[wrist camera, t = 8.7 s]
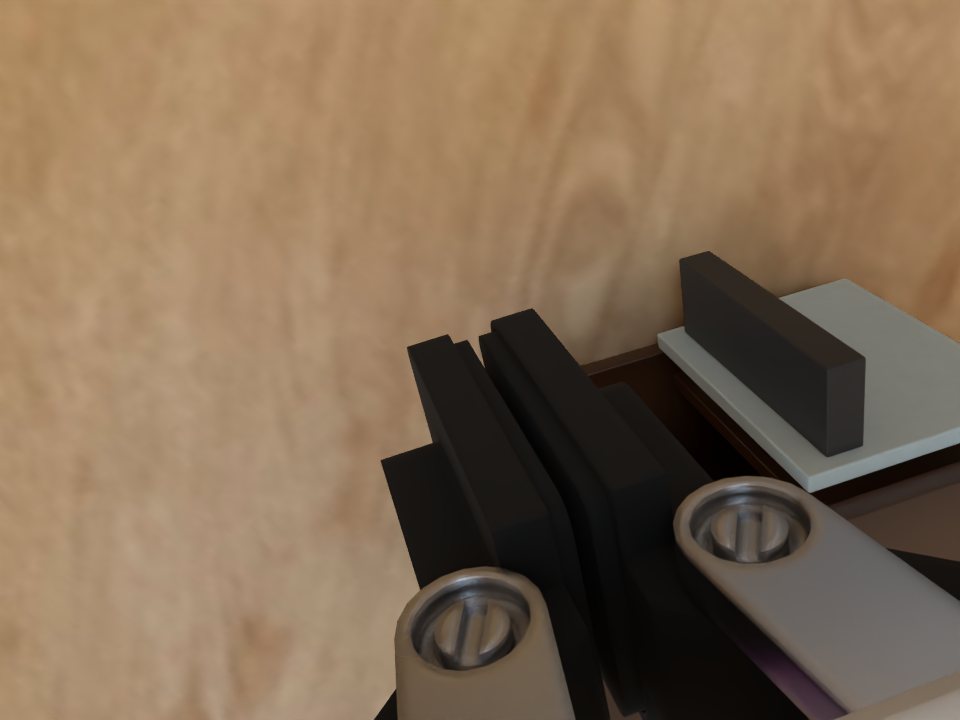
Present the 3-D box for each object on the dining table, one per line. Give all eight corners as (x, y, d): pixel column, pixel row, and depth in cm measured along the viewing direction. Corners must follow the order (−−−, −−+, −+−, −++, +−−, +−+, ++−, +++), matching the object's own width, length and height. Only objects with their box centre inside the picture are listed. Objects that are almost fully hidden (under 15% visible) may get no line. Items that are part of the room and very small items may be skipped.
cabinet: (467, 399, 34) (578, 611, 24) (843, 286, 36) (1095, 435, 26) (510, 592, 39) (618, 840, 28) (840, 482, 41) (1051, 674, 31)
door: (649, 260, 32) (808, 387, 24) (847, 204, 33) (1067, 305, 25) (657, 347, 34) (808, 494, 25) (845, 290, 35) (1051, 413, 27)
